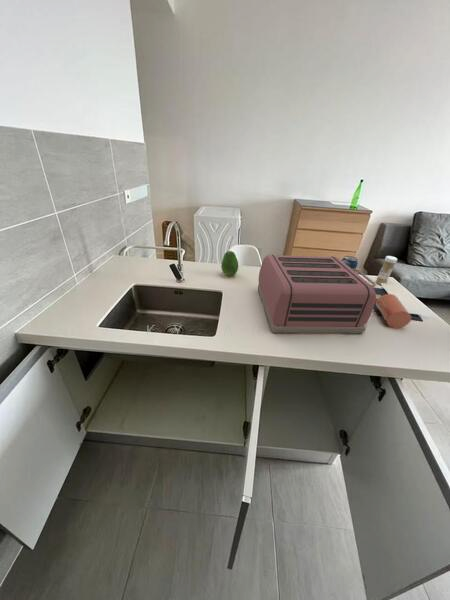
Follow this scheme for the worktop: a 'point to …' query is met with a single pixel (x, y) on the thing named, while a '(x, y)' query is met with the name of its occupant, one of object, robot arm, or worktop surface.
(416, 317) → the mat
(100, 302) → the worktop surface
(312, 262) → the toaster
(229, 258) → the fruit
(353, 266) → the soda can
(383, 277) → the sprinkles bottle
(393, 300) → the tumbler
